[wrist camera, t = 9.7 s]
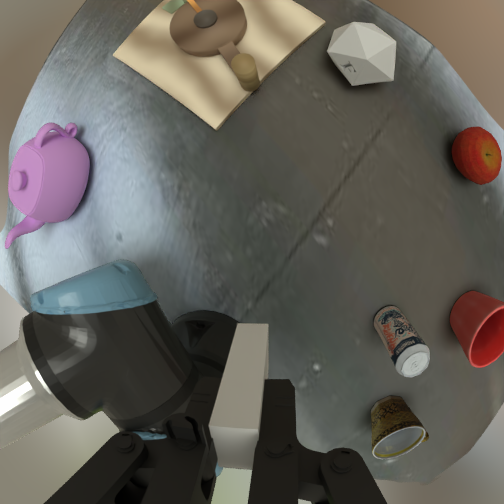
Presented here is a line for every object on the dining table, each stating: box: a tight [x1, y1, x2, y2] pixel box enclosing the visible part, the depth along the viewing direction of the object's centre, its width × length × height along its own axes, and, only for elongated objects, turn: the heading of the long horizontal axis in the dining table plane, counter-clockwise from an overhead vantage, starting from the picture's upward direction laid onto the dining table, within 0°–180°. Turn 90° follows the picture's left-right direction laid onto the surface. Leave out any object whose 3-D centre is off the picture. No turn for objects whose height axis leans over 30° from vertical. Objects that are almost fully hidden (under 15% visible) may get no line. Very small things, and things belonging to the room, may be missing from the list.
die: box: [327, 22, 396, 86], centre depth 25 cm, size 8×9×10 cm
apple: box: [452, 127, 502, 185], centre depth 27 cm, size 8×8×8 cm
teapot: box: [5, 123, 90, 249], centre depth 32 cm, size 20×13×12 cm, turn 150°
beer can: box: [374, 306, 430, 377], centre depth 33 cm, size 5×5×12 cm
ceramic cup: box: [371, 396, 429, 459], centre depth 39 cm, size 13×10×10 cm
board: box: [113, 0, 325, 131], centre depth 29 cm, size 22×22×1 cm
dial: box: [169, 0, 260, 92], centre depth 25 cm, size 18×10×7 cm, turn 30°
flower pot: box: [450, 291, 504, 368], centre depth 32 cm, size 11×11×10 cm
